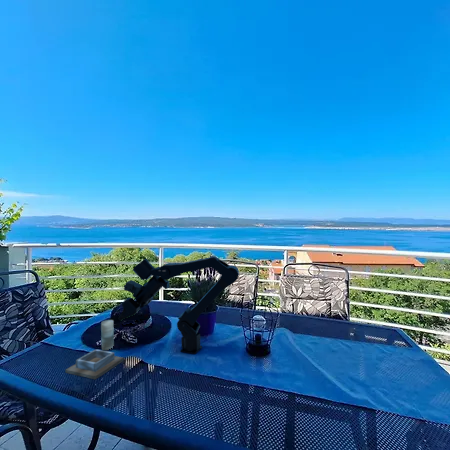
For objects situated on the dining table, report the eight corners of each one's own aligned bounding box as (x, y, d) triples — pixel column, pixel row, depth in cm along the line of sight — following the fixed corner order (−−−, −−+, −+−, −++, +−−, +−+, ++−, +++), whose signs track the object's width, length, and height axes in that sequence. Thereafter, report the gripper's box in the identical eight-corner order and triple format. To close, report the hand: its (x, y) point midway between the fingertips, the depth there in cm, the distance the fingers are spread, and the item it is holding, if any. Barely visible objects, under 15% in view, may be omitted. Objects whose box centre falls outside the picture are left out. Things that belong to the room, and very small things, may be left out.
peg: (116, 346, 111) (115, 320, 111) (107, 351, 107) (107, 324, 107) (107, 344, 113) (107, 319, 113) (99, 349, 109) (98, 323, 109)
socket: (123, 360, 99) (123, 350, 99) (95, 379, 87) (95, 368, 87) (96, 355, 104) (95, 346, 104) (65, 372, 91) (65, 362, 91)
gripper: (145, 270, 118) (121, 295, 119) (126, 278, 100) (98, 308, 101) (163, 288, 118) (139, 313, 118) (147, 300, 99) (118, 330, 100)
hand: (124, 315), depth 109 cm, fingers open, 9 cm apart
